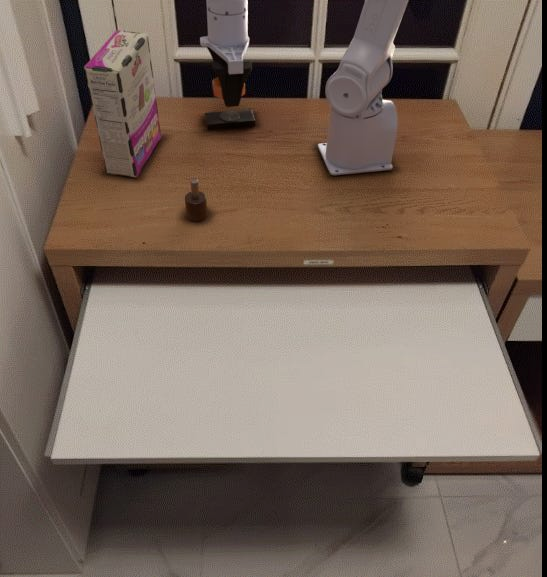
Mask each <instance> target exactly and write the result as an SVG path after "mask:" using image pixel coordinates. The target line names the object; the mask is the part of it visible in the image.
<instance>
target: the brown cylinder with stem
mask: <svg viewBox="0 0 547 577" xmlns="http://www.w3.org/2000/svg"><path fill="white" fill-rule="evenodd" d="M189 182H190V192H187V193H186V194H185V195H184V205H185V215H186V216H185V217H186V218H187V220H189V221H191V222H202V221H205V220H206V219H207V217H208V203H207V195H206V194H205V193H204V192H203V191H200V186H199V180H198V178H191V179H190V181H189Z"/></svg>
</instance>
